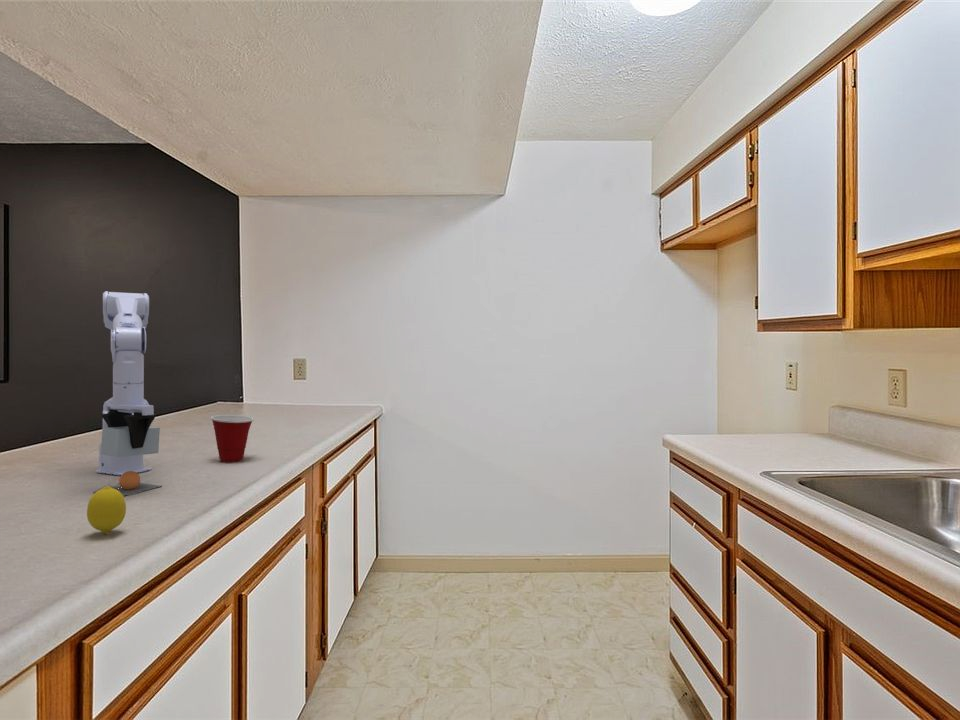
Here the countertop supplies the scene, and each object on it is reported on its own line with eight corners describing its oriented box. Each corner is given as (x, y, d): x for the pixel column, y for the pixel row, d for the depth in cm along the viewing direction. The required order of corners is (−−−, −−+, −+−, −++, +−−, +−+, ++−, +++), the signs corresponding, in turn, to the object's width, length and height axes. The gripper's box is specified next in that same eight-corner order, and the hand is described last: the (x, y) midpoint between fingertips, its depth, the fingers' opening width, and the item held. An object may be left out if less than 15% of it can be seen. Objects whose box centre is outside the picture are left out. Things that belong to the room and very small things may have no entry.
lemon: (98, 528, 103) (98, 482, 103) (132, 528, 103) (132, 482, 103) (79, 539, 97) (79, 490, 97) (115, 538, 98) (115, 490, 98)
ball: (123, 466, 130) (134, 478, 133) (111, 481, 127) (121, 492, 130) (137, 467, 129) (147, 479, 131) (125, 482, 126) (135, 494, 128)
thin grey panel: (93, 493, 126) (93, 492, 126) (135, 483, 135) (135, 482, 135) (120, 497, 123) (120, 496, 123) (161, 486, 132) (161, 485, 132)
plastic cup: (238, 465, 156) (238, 419, 156) (201, 463, 158) (201, 417, 158) (261, 457, 167) (261, 414, 166) (226, 455, 169) (227, 413, 168)
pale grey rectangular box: (100, 454, 127) (102, 427, 127) (142, 450, 135) (143, 425, 135) (117, 457, 124) (118, 430, 124) (158, 453, 132) (159, 427, 132)
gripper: (167, 383, 129) (167, 446, 129) (126, 380, 136) (126, 440, 136) (135, 385, 122) (134, 451, 123) (94, 382, 129) (94, 445, 130)
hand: (128, 446), depth 129 cm, fingers closed on pale grey rectangular box, 6 cm apart
